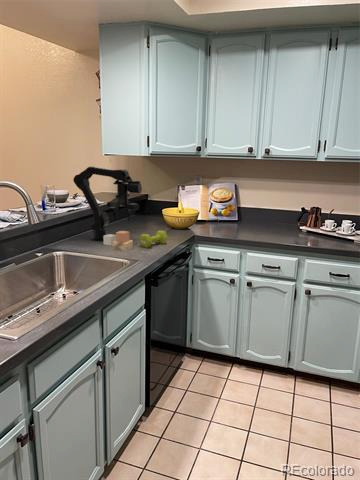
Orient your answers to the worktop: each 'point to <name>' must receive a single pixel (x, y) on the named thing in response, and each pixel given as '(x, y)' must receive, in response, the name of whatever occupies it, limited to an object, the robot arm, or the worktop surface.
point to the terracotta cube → (122, 236)
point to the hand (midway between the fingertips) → (122, 220)
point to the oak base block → (123, 245)
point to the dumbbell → (153, 239)
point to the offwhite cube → (109, 239)
